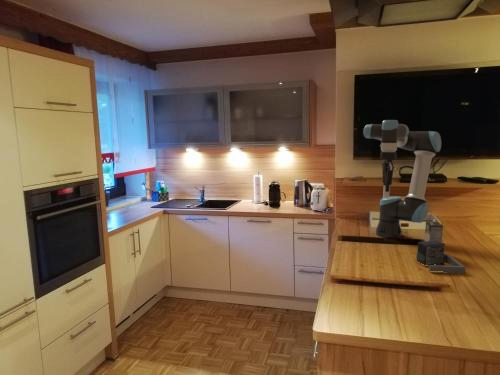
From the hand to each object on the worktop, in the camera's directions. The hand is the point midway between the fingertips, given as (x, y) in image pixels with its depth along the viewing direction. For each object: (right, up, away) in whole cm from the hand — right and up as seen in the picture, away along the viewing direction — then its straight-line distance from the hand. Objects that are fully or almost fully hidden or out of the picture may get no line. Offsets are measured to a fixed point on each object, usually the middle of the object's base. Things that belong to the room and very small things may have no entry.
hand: (386, 197), depth 192 cm
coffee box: (+25, -29, +4) cm, 39 cm away
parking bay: (+20, -32, -14) cm, 40 cm away
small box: (+17, -32, -10) cm, 38 cm away
